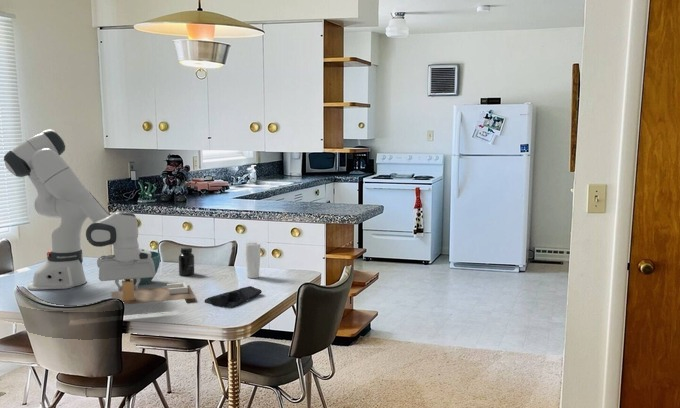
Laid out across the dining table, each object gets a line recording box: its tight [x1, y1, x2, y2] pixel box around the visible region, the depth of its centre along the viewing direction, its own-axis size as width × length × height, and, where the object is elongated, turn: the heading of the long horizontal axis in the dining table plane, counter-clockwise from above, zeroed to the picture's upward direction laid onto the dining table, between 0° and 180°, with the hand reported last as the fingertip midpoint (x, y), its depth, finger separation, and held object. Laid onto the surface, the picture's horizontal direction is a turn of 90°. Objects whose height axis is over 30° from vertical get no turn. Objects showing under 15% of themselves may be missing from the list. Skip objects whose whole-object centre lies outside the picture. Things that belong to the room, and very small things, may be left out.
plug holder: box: [166, 282, 188, 294], centre depth 247 cm, size 7×8×2 cm
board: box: [110, 284, 197, 305], centre depth 241 cm, size 30×20×2 cm, turn 110°
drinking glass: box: [244, 242, 262, 279], centre depth 275 cm, size 7×7×15 cm
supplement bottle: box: [178, 247, 195, 277], centre depth 280 cm, size 7×7×12 cm
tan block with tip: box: [121, 279, 134, 301], centre depth 234 cm, size 4×4×10 cm
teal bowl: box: [123, 250, 161, 286], centre depth 263 cm, size 18×18×12 cm
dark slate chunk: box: [204, 285, 262, 309], centre depth 241 cm, size 15×22×5 cm
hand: (128, 290), depth 234 cm, fingers closed on tan block with tip, 4 cm apart
